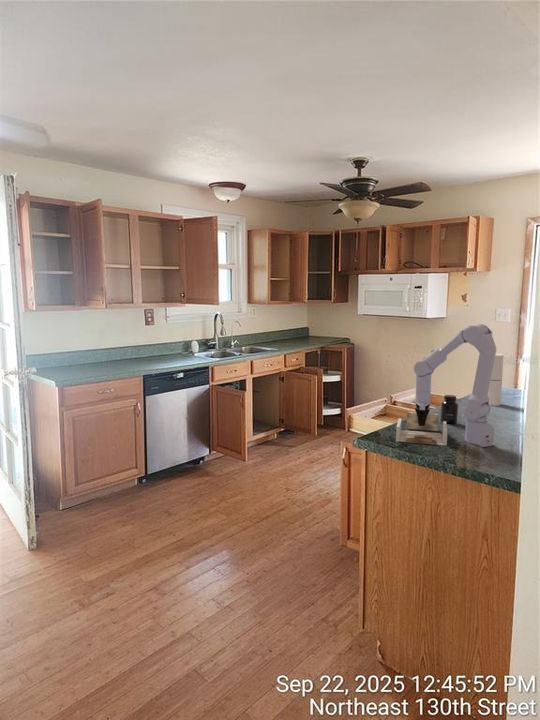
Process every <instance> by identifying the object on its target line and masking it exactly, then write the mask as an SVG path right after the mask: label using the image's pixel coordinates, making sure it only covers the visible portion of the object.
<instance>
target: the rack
mask: <svg viewBox="0 0 540 720" xmlns="http://www.w3.org/2000/svg"><path fill="white" fill-rule="evenodd" d="M402 420H403V419H402V418H397V424H396V430H395V431H396V432H395V433H396V434H395V441H396V442H402V443H407V442H406V437H407V435H409V436H415V434H422V435H433V439H434V440H437V444H435V445H438V446H447V445H448V443H447V442H448V426H447V425H448V424H446V422H445V421H443V424H442V431H441V432H442V433H441V432H429V431H417V430H407V429H406V430H403V429H402ZM412 443H415V442H412ZM424 444H425V445H427V444H426V443H423V445H424Z"/></svg>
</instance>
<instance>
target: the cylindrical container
mask: <svg viewBox="0 0 540 720" xmlns="http://www.w3.org/2000/svg"><path fill="white" fill-rule="evenodd" d="M503 369H504V354H502V353H496V355H495V360H494V365H493V370H492V375H491V380H490V385H489V390H488V395H487V396H488V397H489V399H490V400H489V406H492V405H494V407H497V406H501V403H502V387H503V372H504V370H503Z"/></svg>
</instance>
